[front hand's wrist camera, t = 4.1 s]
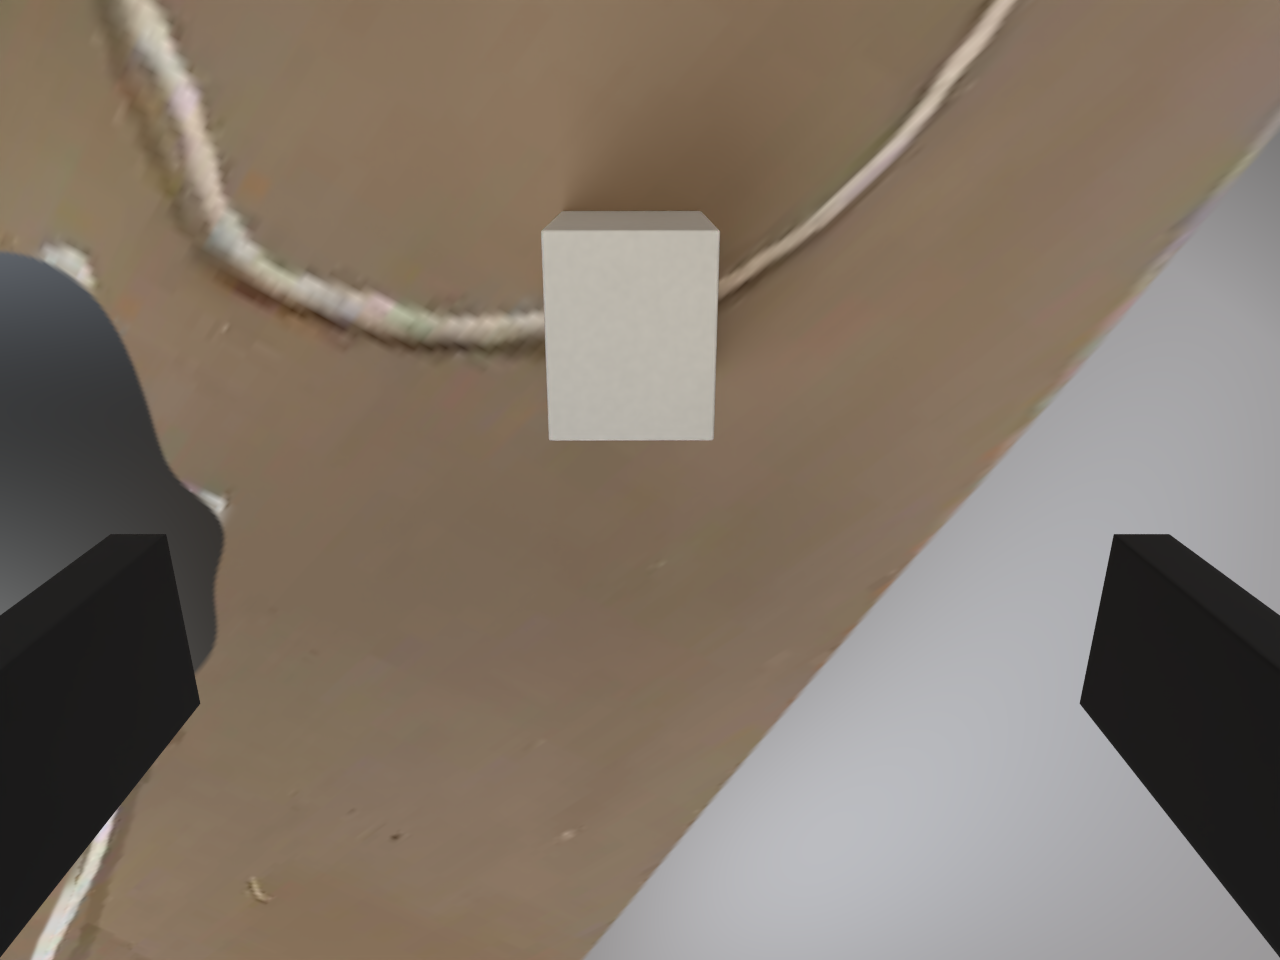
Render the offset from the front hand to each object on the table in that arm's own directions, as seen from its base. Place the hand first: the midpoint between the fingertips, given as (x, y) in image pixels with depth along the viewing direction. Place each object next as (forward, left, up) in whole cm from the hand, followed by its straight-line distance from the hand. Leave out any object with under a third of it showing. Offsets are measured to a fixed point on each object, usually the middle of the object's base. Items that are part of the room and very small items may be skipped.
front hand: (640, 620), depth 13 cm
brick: (0, 0, -27) cm, 27 cm away
